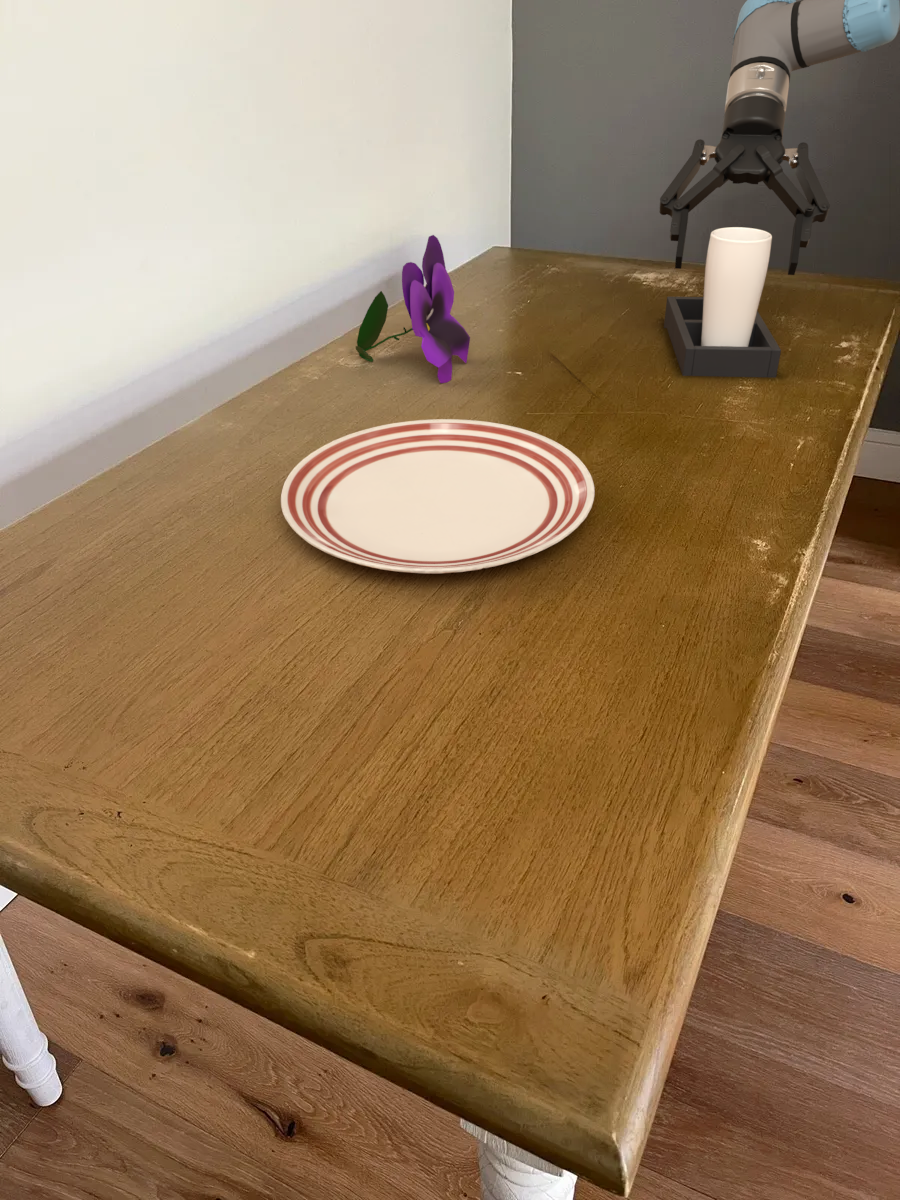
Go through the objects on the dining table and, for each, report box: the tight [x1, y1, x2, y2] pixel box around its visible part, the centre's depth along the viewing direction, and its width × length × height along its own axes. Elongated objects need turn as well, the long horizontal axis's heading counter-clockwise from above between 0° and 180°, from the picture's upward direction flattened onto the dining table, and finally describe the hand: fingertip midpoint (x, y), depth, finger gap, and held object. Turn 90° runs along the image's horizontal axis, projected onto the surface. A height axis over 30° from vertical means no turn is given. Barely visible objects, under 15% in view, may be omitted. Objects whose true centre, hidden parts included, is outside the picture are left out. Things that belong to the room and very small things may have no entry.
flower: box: [355, 234, 471, 384], centre depth 114 cm, size 15×15×14 cm
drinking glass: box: [701, 226, 773, 347], centre depth 110 cm, size 7×7×15 cm
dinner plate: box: [280, 418, 596, 574], centre depth 85 cm, size 27×27×3 cm
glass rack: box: [663, 296, 782, 378], centre depth 117 cm, size 10×20×5 cm, turn 175°
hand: (734, 266), depth 117 cm, fingers open, 13 cm apart
